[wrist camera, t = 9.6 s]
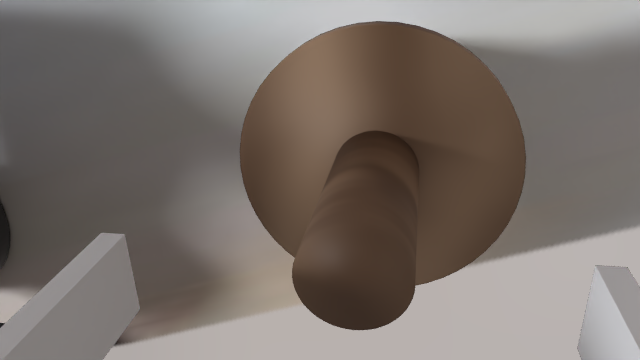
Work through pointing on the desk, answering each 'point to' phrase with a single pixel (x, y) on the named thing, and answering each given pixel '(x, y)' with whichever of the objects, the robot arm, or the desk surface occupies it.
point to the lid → (380, 165)
